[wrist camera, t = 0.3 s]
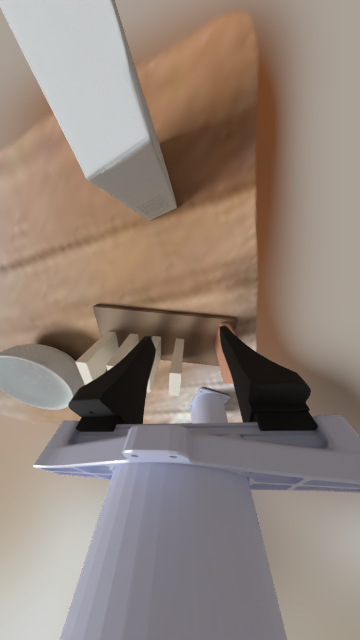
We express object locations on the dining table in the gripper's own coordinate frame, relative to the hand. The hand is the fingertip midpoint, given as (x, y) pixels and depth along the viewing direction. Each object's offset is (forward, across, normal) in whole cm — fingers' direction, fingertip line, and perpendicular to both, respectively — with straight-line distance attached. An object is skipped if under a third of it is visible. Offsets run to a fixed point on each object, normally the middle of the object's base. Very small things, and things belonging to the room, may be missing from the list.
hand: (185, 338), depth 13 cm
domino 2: (+9, +12, +7) cm, 16 cm away
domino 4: (+8, +3, +10) cm, 13 cm away
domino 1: (+9, +16, +6) cm, 19 cm away
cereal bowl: (+10, +34, +10) cm, 37 cm away
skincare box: (+12, +1, -14) cm, 19 cm away
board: (+10, +6, +7) cm, 13 cm away
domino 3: (+8, +8, +8) cm, 14 cm away
